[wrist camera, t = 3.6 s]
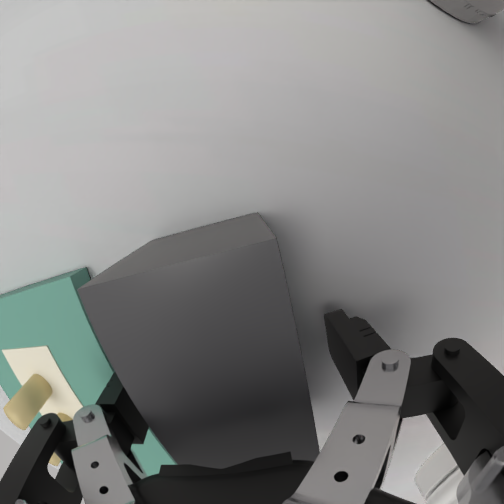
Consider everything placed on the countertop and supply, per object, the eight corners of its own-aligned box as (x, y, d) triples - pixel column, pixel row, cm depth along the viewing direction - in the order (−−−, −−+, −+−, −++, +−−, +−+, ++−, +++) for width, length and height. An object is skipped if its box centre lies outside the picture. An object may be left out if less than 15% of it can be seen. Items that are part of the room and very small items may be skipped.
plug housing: (151, 240, 11) (77, 289, 5) (257, 212, 11) (276, 238, 5) (221, 420, 14) (217, 508, 8) (302, 404, 14) (325, 491, 8)
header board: (-24, 303, 12) (-67, 330, 7) (86, 267, 11) (20, 307, 7) (83, 468, 15) (67, 506, 10) (202, 478, 15) (197, 530, 10)
